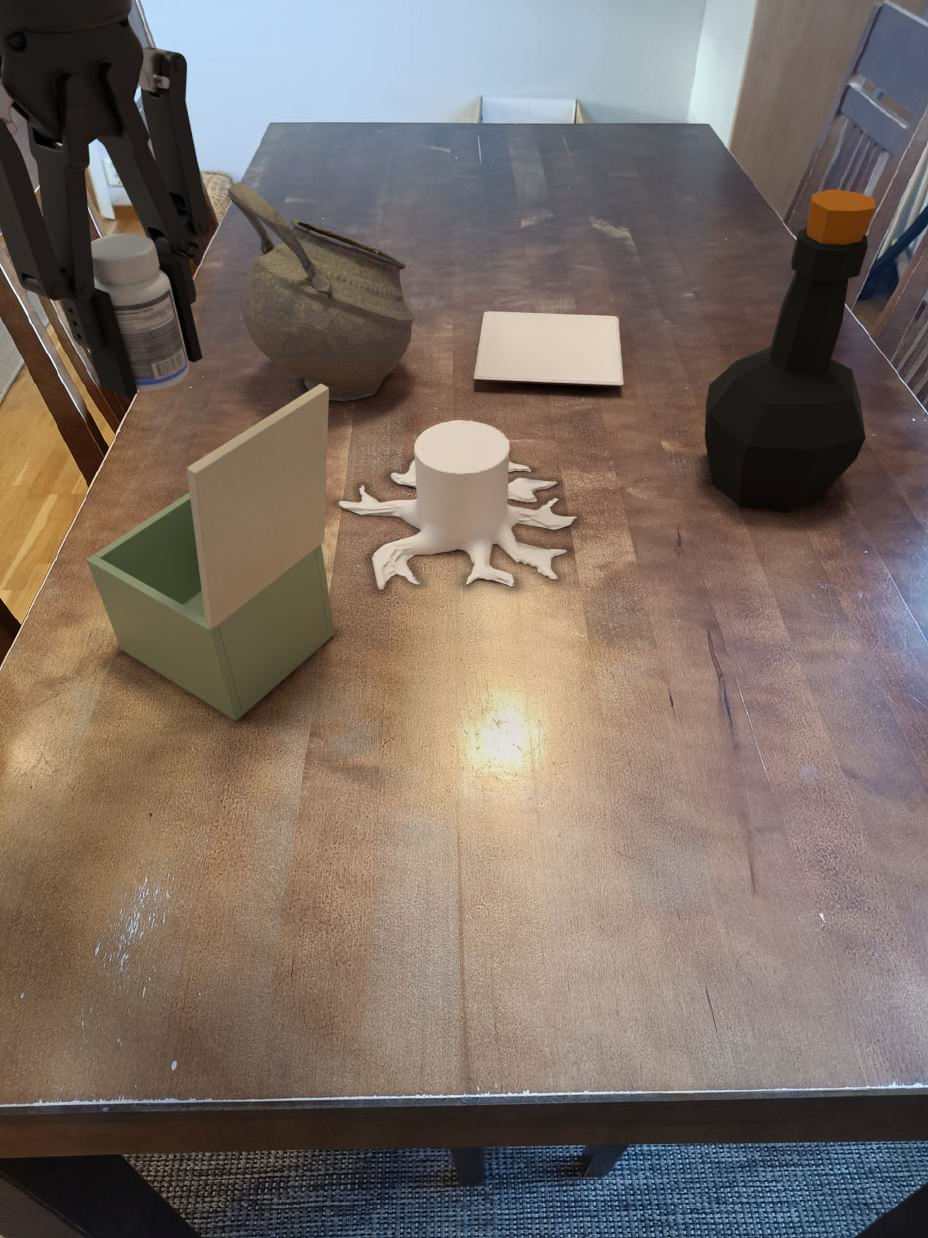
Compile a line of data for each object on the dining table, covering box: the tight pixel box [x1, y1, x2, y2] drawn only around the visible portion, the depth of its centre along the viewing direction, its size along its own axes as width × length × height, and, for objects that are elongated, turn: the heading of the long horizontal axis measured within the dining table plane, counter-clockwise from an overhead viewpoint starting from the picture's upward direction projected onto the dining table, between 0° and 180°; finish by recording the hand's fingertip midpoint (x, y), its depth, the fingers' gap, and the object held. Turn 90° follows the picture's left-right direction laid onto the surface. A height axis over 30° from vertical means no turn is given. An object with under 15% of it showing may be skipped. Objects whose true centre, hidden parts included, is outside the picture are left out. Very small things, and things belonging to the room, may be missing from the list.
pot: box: [227, 180, 416, 402], centre depth 106 cm, size 21×21×25 cm
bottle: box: [704, 188, 876, 513], centre depth 89 cm, size 16×16×30 cm
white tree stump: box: [338, 419, 577, 591], centre depth 92 cm, size 23×25×9 cm
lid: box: [186, 384, 330, 628], centre depth 65 cm, size 15×13×1 cm
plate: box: [473, 310, 625, 388], centre depth 119 cm, size 19×19×2 cm
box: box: [86, 491, 335, 722], centre depth 78 cm, size 15×13×11 cm
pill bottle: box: [91, 233, 190, 392], centre depth 56 cm, size 5×5×8 cm
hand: (152, 370), depth 58 cm, fingers closed on pill bottle, 5 cm apart
